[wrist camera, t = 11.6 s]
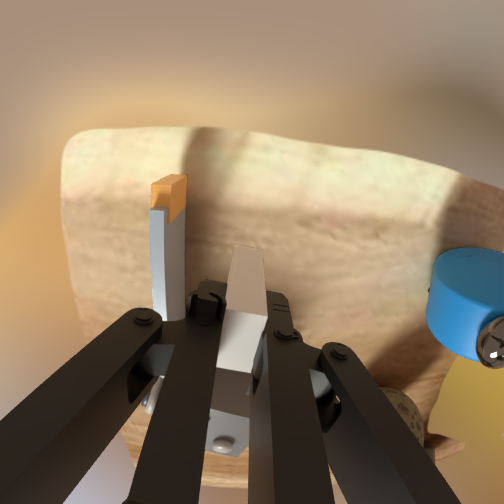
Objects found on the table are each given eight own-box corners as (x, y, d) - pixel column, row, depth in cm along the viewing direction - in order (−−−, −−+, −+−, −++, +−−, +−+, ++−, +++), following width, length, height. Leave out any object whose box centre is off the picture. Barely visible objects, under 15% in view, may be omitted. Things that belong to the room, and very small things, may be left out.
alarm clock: (404, 301, 29) (473, 397, 16) (411, 250, 27) (502, 335, 13) (484, 284, 29) (555, 351, 15) (493, 239, 27) (577, 297, 13)
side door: (173, 172, 24) (144, 187, 17) (189, 173, 24) (166, 188, 17) (174, 329, 30) (158, 377, 23) (187, 330, 30) (174, 380, 23)
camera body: (264, 358, 32) (268, 428, 23) (239, 399, 35) (237, 462, 26) (166, 326, 30) (142, 392, 21) (153, 372, 33) (132, 433, 24)
